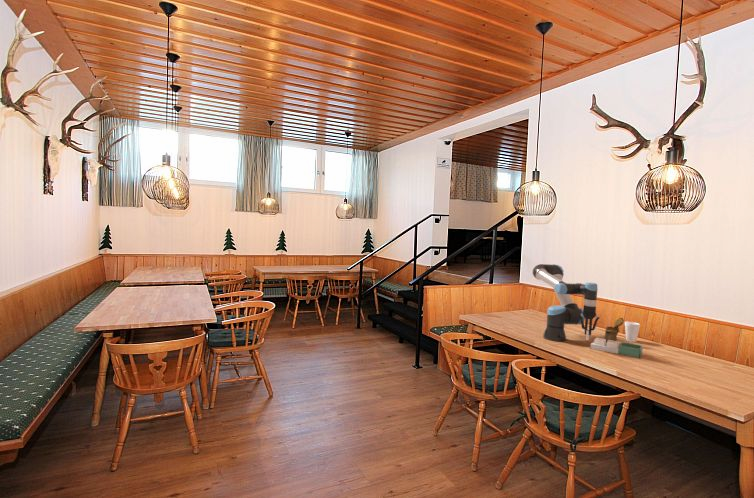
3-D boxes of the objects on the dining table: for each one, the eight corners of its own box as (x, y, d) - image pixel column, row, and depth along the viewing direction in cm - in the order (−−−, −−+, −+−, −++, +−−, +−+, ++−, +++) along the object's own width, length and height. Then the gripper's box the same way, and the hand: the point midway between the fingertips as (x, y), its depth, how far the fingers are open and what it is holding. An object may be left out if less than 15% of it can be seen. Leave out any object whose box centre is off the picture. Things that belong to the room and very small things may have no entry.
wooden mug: (625, 344, 286) (627, 319, 285) (609, 345, 283) (611, 319, 282) (615, 341, 295) (617, 316, 294) (599, 341, 291) (601, 316, 290)
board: (590, 348, 272) (590, 343, 272) (594, 344, 282) (594, 340, 282) (617, 353, 262) (618, 349, 262) (620, 349, 272) (621, 345, 272)
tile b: (606, 346, 269) (607, 341, 269) (608, 344, 274) (608, 339, 273) (617, 347, 265) (617, 343, 265) (618, 346, 270) (619, 341, 270)
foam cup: (625, 338, 305) (627, 321, 304) (640, 341, 298) (641, 323, 297) (622, 340, 298) (623, 322, 297) (636, 343, 291) (638, 325, 291)
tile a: (594, 343, 274) (594, 339, 273) (596, 341, 278) (596, 337, 278) (604, 345, 270) (604, 341, 270) (605, 343, 275) (606, 339, 274)
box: (617, 353, 262) (618, 345, 262) (620, 349, 272) (621, 341, 272) (639, 358, 255) (640, 349, 255) (642, 354, 264) (642, 345, 264)
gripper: (578, 304, 279) (575, 338, 280) (599, 307, 271) (596, 342, 272) (580, 303, 285) (578, 336, 286) (601, 306, 276) (599, 340, 278)
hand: (587, 339), depth 279 cm, fingers closed
